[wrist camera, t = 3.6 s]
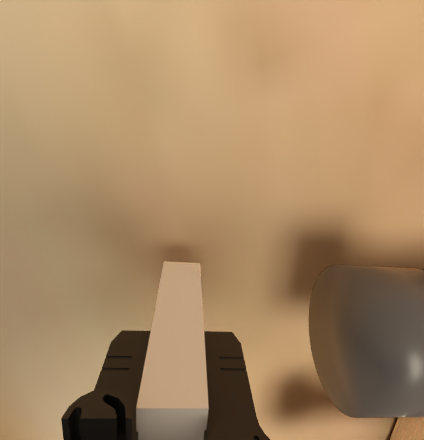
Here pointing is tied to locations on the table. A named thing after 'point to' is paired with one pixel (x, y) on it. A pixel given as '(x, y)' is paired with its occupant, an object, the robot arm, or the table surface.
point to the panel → (408, 429)
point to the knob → (370, 339)
